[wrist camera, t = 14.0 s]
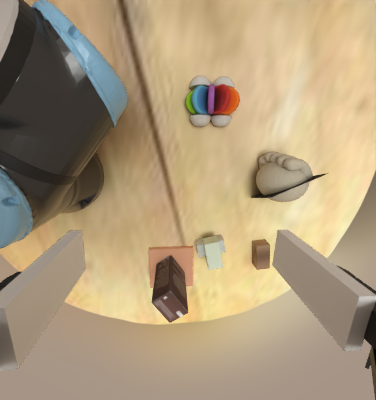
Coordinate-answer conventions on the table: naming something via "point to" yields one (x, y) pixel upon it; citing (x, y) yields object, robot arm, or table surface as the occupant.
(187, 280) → the tile
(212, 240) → the pale green brick
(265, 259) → the walnut brick
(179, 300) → the box
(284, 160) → the decorative object
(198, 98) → the rainbow disc rolling toy
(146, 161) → the table surface
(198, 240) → the grey brick
